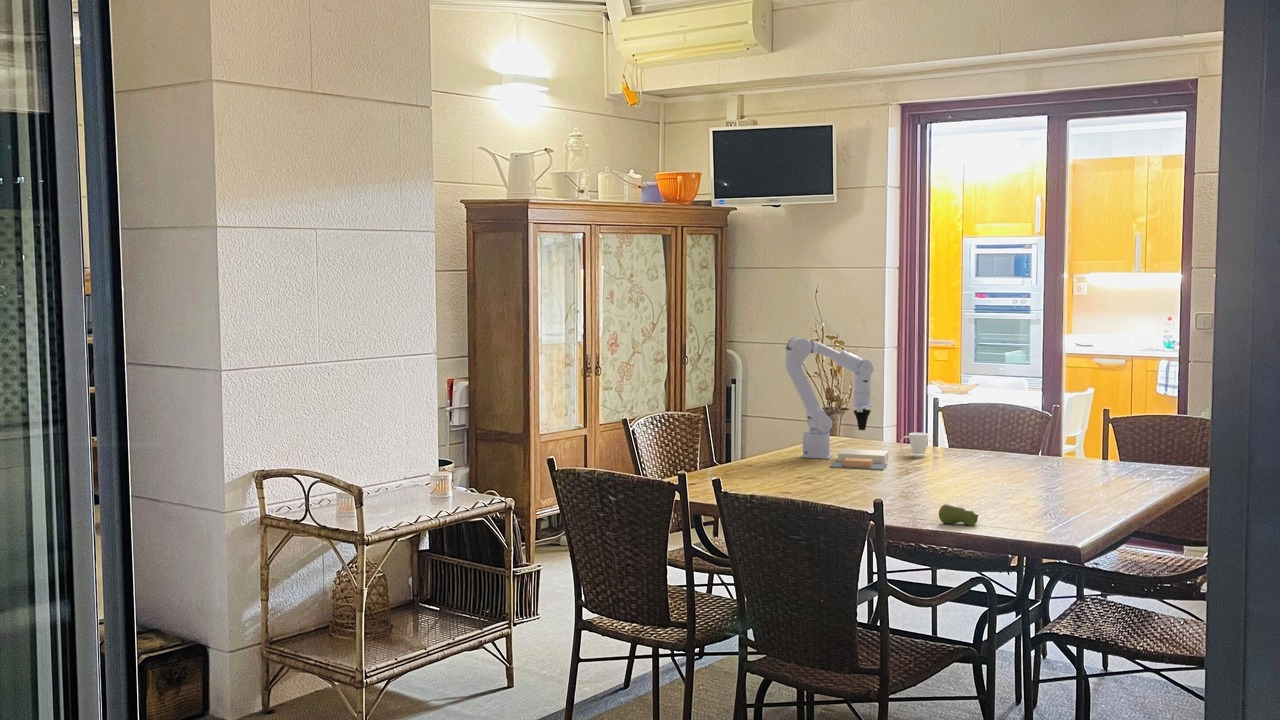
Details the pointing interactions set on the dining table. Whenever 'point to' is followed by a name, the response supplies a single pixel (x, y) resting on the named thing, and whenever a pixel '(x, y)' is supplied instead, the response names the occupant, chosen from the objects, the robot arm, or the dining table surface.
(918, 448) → the cup
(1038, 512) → the dining table surface
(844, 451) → the cream flat block
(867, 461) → the tile
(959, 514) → the pear
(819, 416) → the robot arm
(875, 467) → the mat
